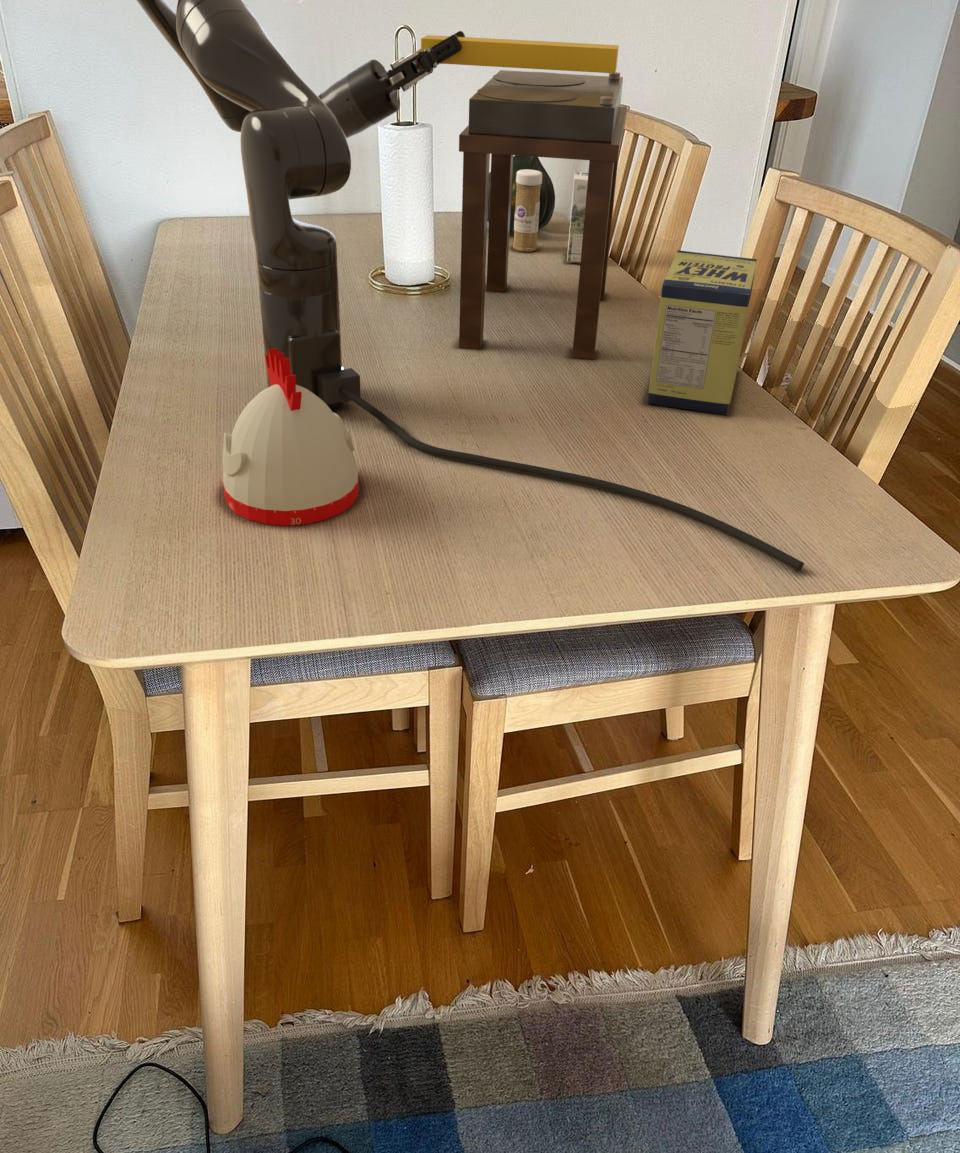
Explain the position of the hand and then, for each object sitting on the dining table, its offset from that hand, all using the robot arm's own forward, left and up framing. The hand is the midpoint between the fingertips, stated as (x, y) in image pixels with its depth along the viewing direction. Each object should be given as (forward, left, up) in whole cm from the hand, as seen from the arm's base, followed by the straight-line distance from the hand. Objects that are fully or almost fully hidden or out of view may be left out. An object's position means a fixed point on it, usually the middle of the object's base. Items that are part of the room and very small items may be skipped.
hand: (461, 39), depth 140 cm
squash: (+31, -29, -37) cm, 56 cm away
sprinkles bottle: (+19, -24, -37) cm, 48 cm away
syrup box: (+9, -30, -37) cm, 48 cm away
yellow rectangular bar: (-5, -6, -3) cm, 9 cm away
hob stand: (-14, -6, -36) cm, 39 cm away
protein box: (-45, -11, -37) cm, 59 cm away
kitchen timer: (-49, +46, -37) cm, 76 cm away
